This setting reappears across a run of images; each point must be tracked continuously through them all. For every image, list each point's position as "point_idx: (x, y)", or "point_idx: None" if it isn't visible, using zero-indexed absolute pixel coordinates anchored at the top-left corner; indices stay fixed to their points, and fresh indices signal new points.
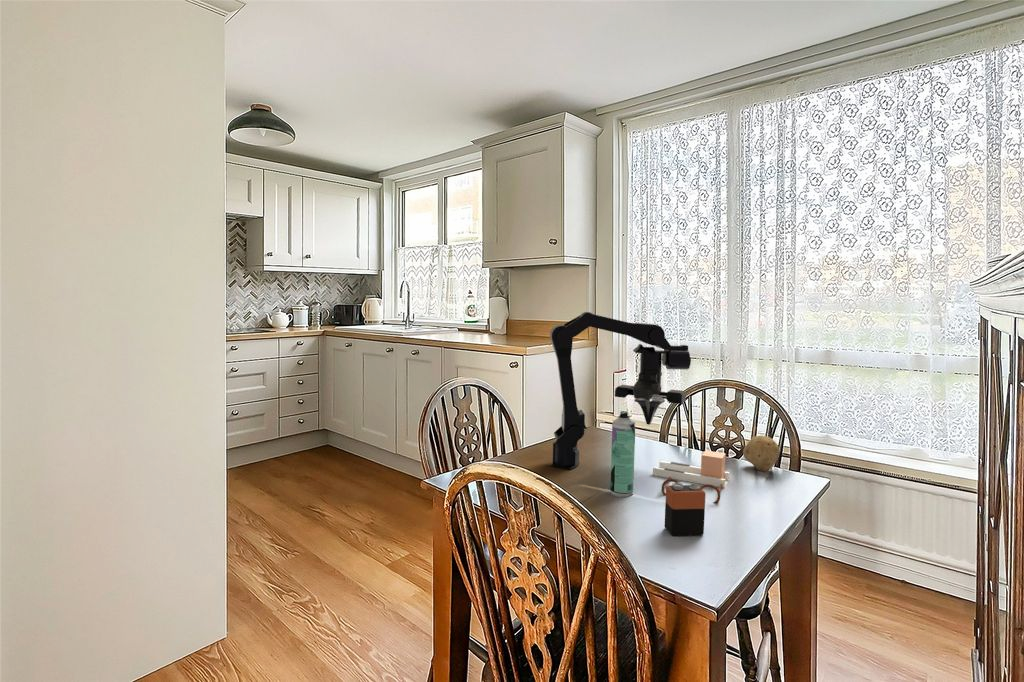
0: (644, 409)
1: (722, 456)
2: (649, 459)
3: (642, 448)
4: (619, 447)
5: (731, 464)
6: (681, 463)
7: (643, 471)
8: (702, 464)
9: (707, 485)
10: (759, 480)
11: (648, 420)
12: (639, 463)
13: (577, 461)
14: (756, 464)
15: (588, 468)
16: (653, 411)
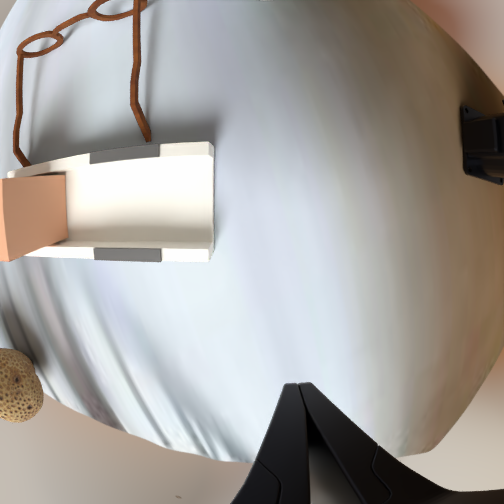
0: (380, 480)
1: None
2: (282, 349)
3: None
4: None
5: (81, 389)
6: (121, 258)
7: (265, 197)
8: (24, 177)
9: (30, 38)
10: (6, 295)
11: (300, 403)
12: (305, 288)
13: (470, 138)
14: (15, 352)
15: (434, 140)
16: (242, 487)
